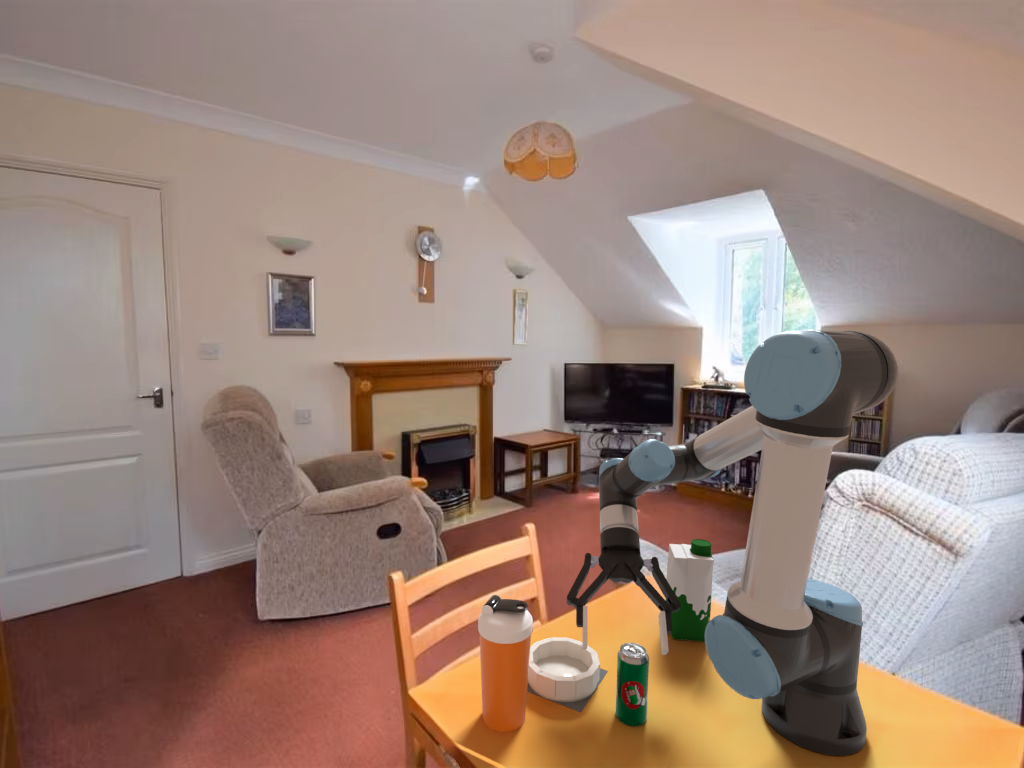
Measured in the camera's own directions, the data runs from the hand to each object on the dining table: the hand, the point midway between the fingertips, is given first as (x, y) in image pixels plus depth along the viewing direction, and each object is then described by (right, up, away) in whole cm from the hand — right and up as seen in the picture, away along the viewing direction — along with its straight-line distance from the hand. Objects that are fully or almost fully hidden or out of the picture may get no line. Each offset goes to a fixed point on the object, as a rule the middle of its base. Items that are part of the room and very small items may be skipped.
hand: (624, 650), depth 93 cm
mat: (-10, -9, +6) cm, 15 cm away
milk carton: (+18, -8, +23) cm, 30 cm away
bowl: (-10, -8, +6) cm, 15 cm away
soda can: (0, -10, -3) cm, 10 cm away
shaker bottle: (-21, -10, -4) cm, 23 cm away
